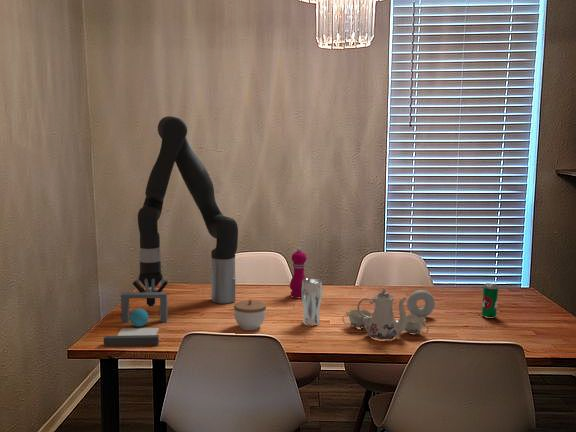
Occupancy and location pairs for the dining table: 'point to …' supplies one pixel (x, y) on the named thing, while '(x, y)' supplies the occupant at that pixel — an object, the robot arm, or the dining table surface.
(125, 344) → the wall
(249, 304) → the lidded jar
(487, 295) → the soda can
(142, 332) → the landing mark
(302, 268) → the pepper mill
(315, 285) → the beer glass
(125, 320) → the bridge
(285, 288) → the dining table surface
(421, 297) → the donut
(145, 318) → the ball
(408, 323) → the chinaware
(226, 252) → the robot arm
